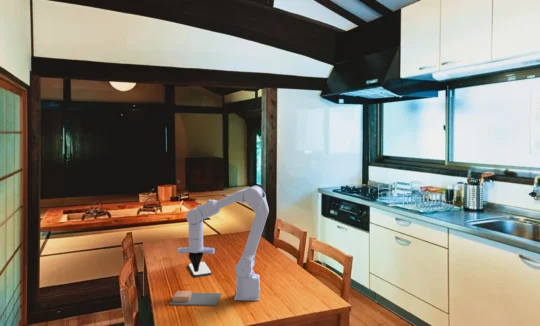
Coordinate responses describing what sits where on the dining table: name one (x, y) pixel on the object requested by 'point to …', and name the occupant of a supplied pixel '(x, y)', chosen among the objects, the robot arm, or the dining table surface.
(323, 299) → the dining table surface
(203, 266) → the phone case
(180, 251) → the robot arm
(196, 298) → the mat
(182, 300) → the tile
